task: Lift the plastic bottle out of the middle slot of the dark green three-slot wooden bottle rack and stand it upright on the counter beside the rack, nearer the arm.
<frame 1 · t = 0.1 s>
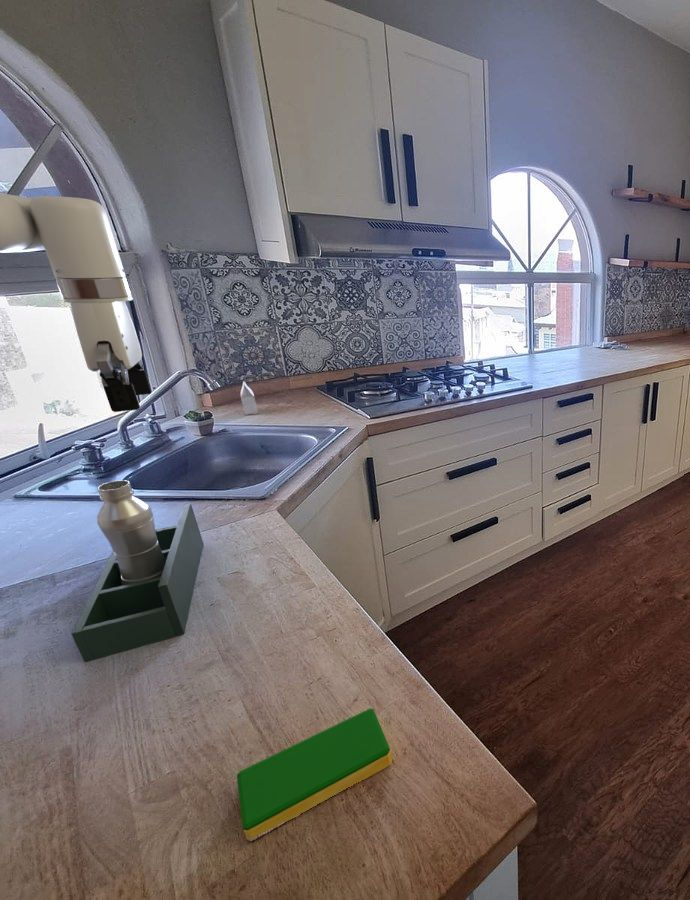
hand: (133, 402, 80), 30 cm above the countertop, tool pointing down, fingers open, 9 cm apart
dish sponge: (319, 776, 56), on the countertop
bottle rack: (153, 593, 83), on the countertop
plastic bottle: (154, 594, 83), resting in bottle rack
white gabled block: (251, 412, 171), on the countertop
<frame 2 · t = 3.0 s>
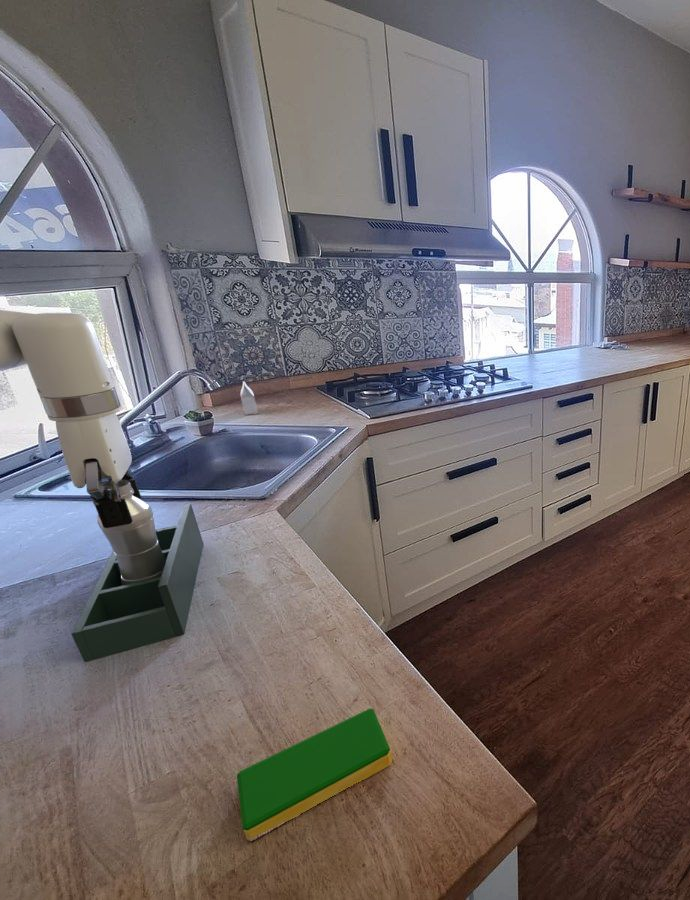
hand: (124, 513, 77), 15 cm above the countertop, tool pointing down, fingers closed on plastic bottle, 6 cm apart
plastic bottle: (154, 594, 83), resting in bottle rack, touching gripper
everything else where it was.
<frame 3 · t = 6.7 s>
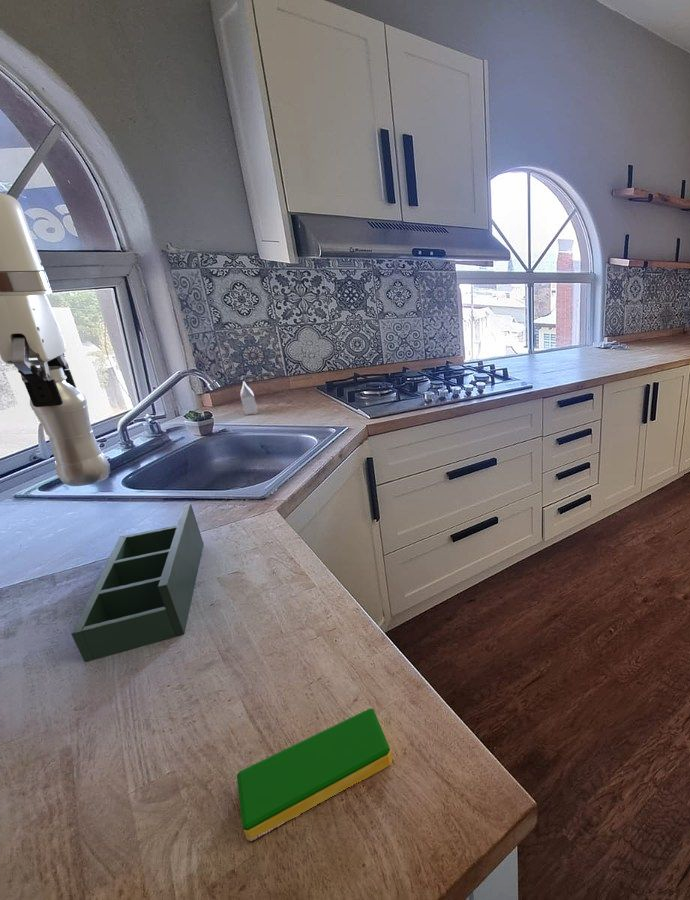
hand: (56, 398, 81), 30 cm above the countertop, tool pointing down, fingers closed on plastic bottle, 6 cm apart
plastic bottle: (89, 483, 86), point 15 cm above the countertop, touching gripper
everything else where it was.
when the fingers open (15 cm above the countertop, at t = 10.7 s): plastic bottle stays where it is, on the countertop.
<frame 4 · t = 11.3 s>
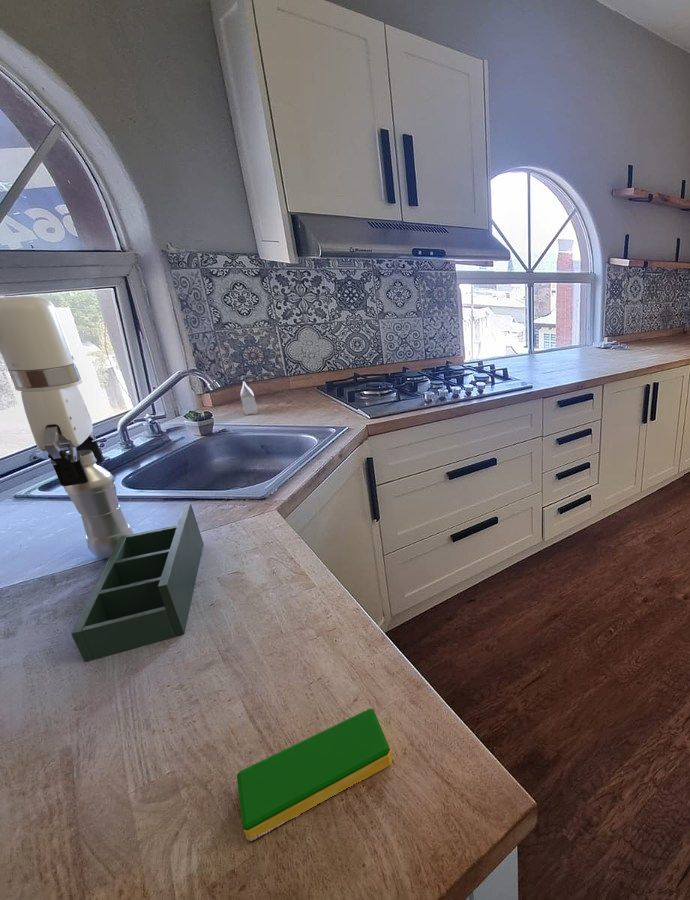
hand: (84, 473, 87), 16 cm above the countertop, tool pointing down, fingers open, 9 cm apart
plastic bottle: (117, 553, 93), on the countertop
everything else where it was.
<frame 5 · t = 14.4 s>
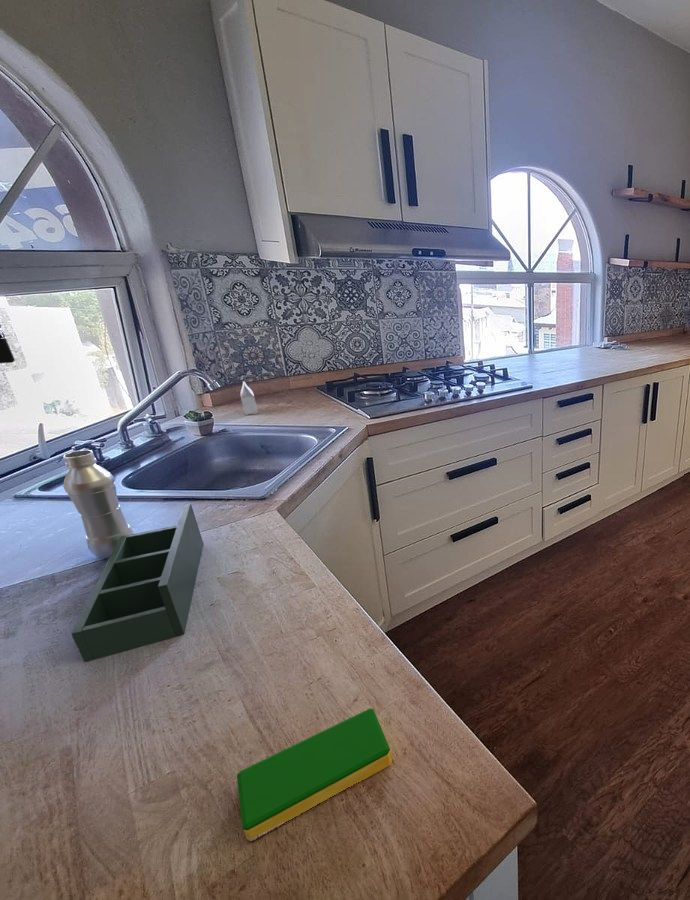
nothing on the countertop moved.
at the end: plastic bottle inside the target area (0.1 cm from its centre), on the countertop; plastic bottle tilted 0°; the gripper is holding nothing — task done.
